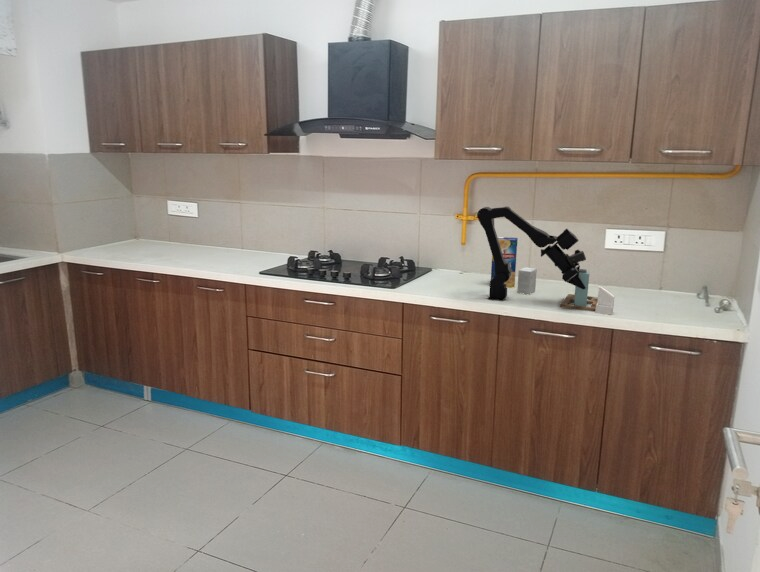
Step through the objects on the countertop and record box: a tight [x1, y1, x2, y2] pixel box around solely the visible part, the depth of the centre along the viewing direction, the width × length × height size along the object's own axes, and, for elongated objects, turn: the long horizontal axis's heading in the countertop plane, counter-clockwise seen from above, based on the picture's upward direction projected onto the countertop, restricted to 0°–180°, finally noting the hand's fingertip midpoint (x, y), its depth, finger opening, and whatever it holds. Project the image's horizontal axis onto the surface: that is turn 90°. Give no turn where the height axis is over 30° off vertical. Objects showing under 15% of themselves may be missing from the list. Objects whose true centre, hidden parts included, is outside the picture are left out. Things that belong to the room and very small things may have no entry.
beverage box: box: [490, 236, 518, 288], centre depth 266 cm, size 7×11×22 cm, turn 76°
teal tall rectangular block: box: [573, 268, 590, 307], centre depth 232 cm, size 4×4×15 cm
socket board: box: [559, 293, 601, 312], centre depth 237 cm, size 14×19×2 cm
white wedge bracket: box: [594, 285, 616, 316], centre depth 224 cm, size 4×10×9 cm, turn 56°
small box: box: [517, 266, 538, 295], centre depth 255 cm, size 8×6×10 cm
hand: (585, 286), depth 232 cm, fingers open, 9 cm apart
